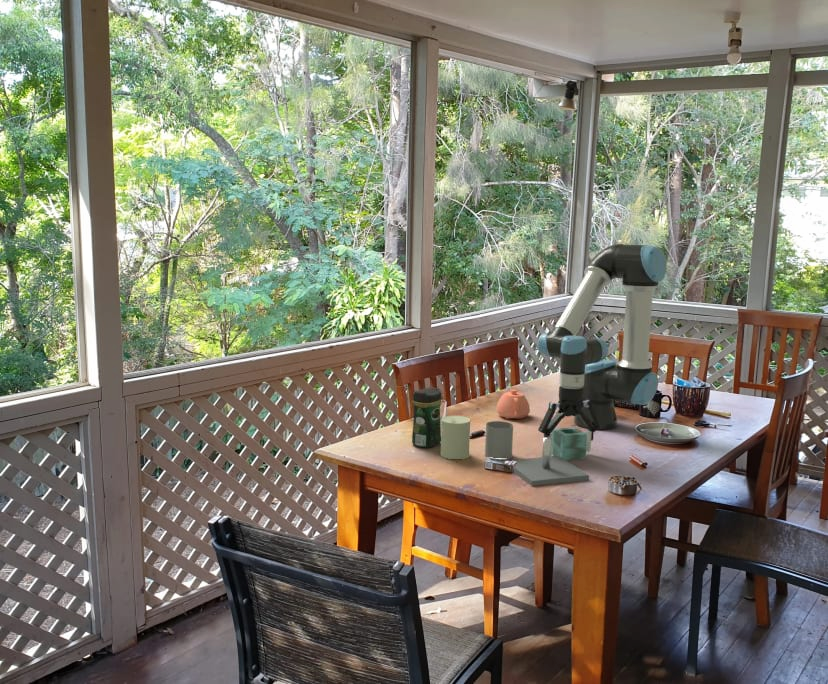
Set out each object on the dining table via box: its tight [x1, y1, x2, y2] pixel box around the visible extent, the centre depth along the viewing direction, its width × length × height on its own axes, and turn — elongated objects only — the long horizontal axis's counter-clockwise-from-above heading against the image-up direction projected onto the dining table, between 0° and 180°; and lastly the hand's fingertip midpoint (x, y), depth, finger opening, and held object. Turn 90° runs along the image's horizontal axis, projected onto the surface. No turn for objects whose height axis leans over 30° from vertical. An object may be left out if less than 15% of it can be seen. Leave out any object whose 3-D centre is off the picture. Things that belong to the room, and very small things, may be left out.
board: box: [513, 455, 590, 487], centre depth 224 cm, size 18×18×2 cm
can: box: [439, 415, 471, 460], centre depth 238 cm, size 9×9×12 cm
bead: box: [551, 426, 587, 462], centre depth 239 cm, size 8×8×8 cm
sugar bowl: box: [495, 389, 531, 420], centre depth 283 cm, size 12×14×10 cm
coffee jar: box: [411, 386, 442, 448], centre depth 248 cm, size 10×8×19 cm
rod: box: [541, 436, 552, 469], centre depth 223 cm, size 2×2×9 cm
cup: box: [484, 420, 514, 460], centre depth 238 cm, size 8×8×10 cm
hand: (567, 452), depth 240 cm, fingers open, 13 cm apart
